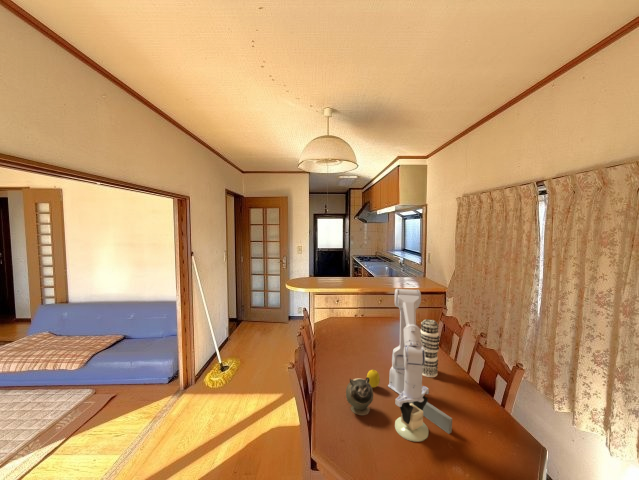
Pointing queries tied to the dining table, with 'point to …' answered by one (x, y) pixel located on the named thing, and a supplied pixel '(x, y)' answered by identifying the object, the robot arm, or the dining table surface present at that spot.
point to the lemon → (373, 378)
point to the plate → (410, 435)
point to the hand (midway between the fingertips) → (411, 419)
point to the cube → (414, 418)
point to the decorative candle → (430, 347)
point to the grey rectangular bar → (437, 417)
